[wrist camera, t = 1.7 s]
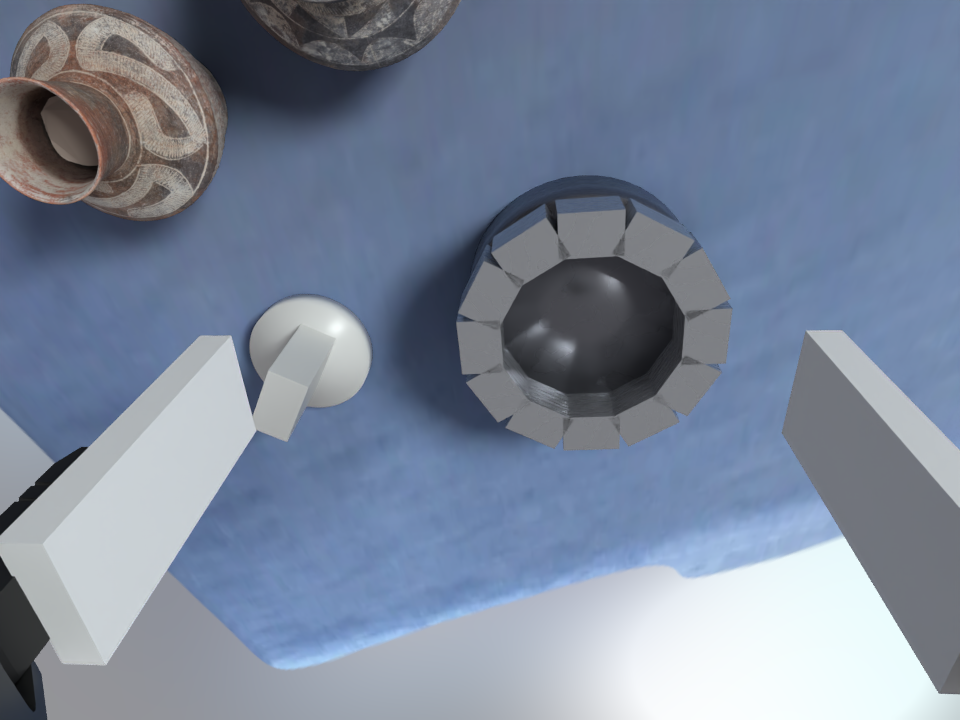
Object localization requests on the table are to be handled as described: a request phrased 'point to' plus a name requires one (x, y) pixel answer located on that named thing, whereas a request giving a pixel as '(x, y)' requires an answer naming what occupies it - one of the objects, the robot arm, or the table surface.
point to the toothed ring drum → (591, 315)
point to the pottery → (162, 96)
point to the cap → (306, 359)
